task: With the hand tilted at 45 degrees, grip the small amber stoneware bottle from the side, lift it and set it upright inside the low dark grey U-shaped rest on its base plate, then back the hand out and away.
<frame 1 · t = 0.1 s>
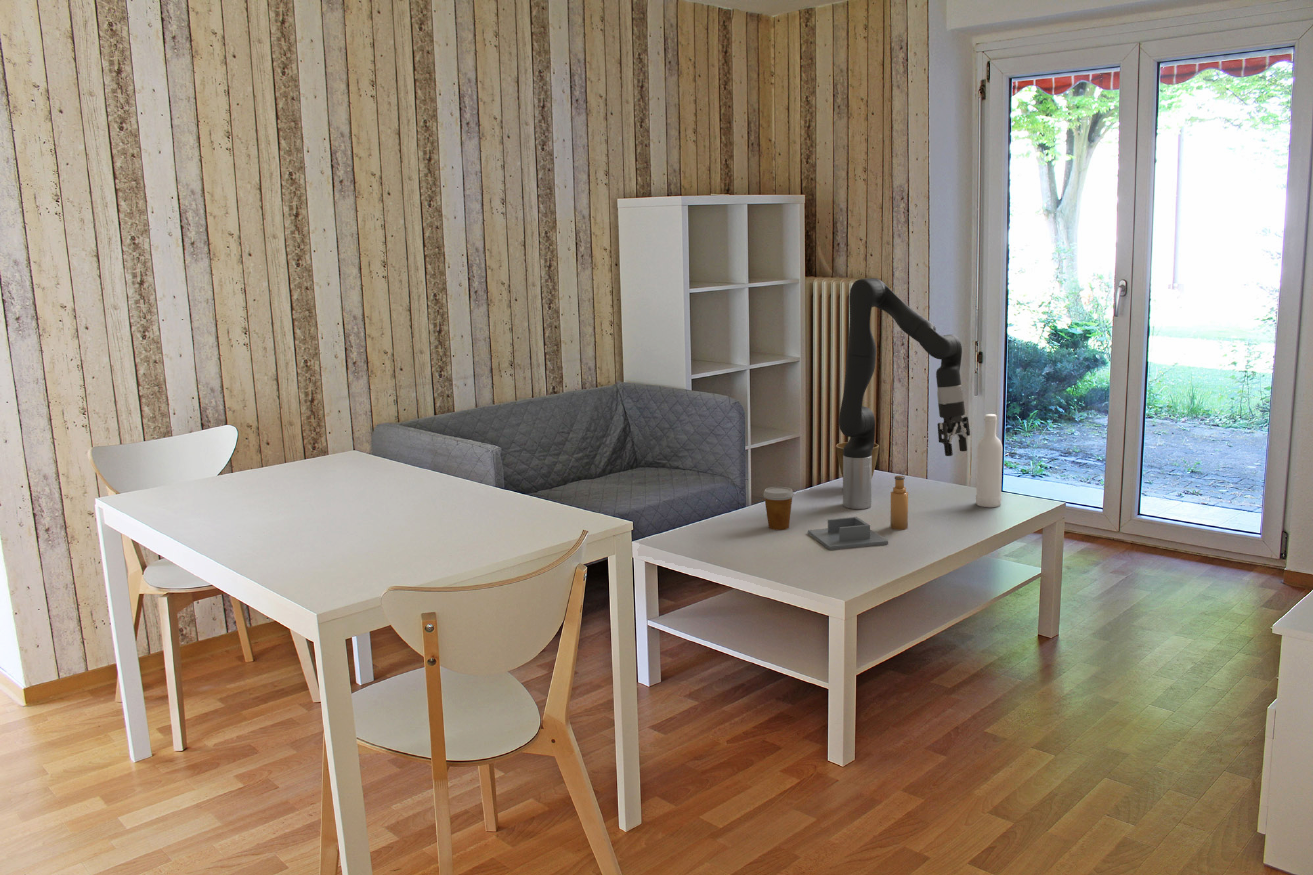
hand: (956, 453, 311), 22 cm above the table, tool pointing down, fingers open, 8 cm apart
bottle: (899, 527, 314), on the table
u rest: (847, 538, 304), on the table
disposable coffee cup: (778, 528, 318), on the table
plant pot: (857, 489, 363), on the table
bottle 2: (988, 505, 337), on the table
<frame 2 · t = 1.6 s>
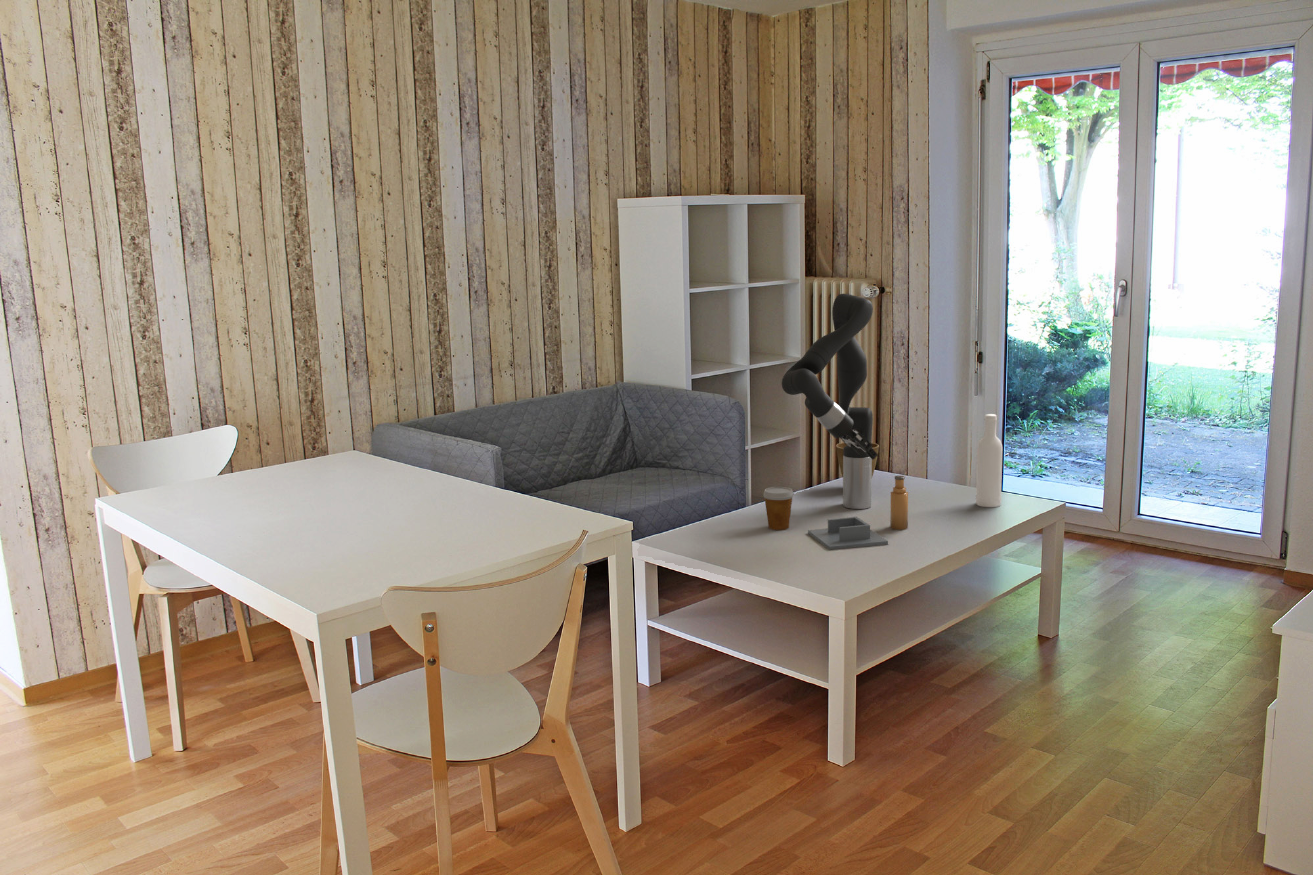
hand: (868, 454, 307), 24 cm above the table, tool tilted 45°, fingers open, 8 cm apart
nothing on the table moved.
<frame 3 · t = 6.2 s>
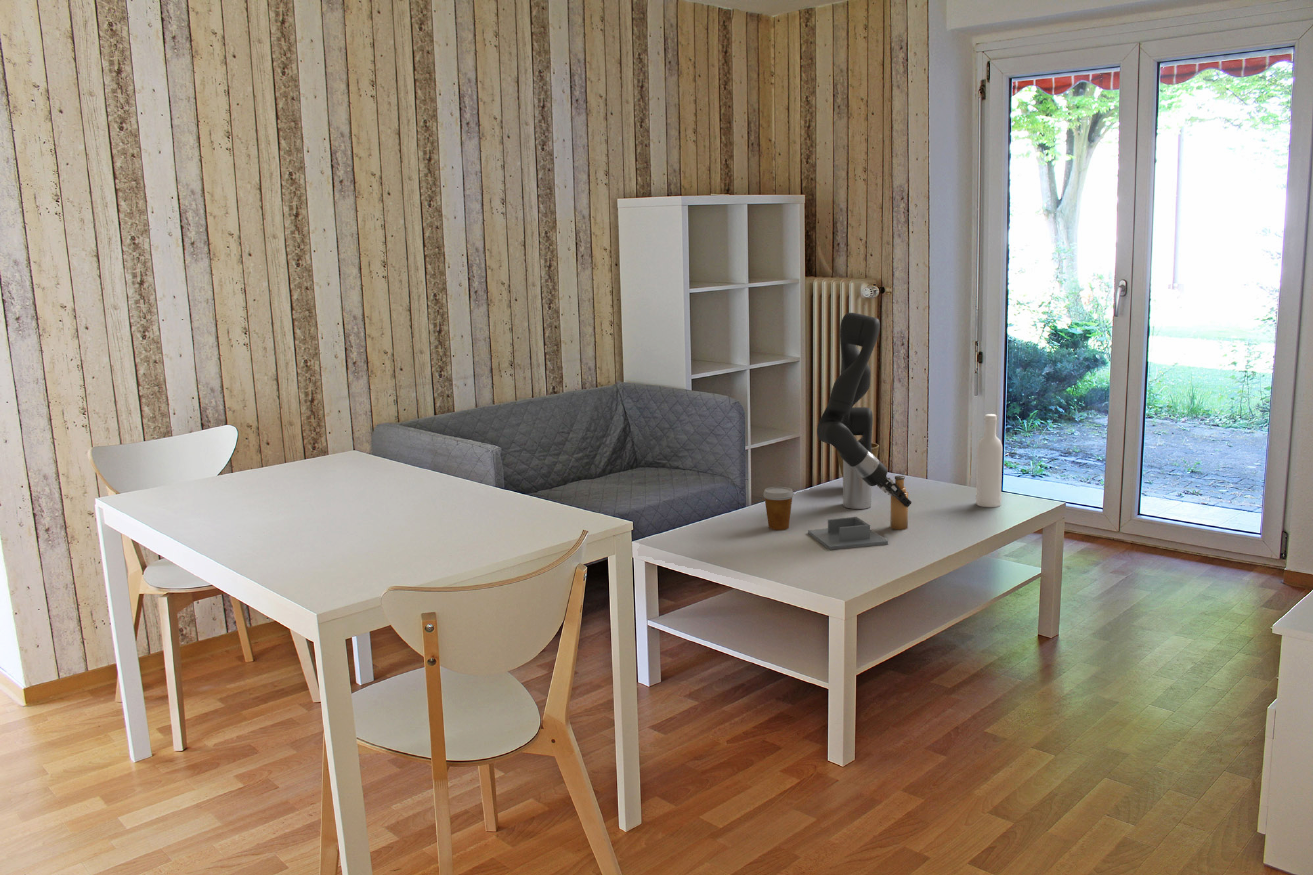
hand: (904, 502, 313), 8 cm above the table, tool tilted 45°, fingers closed on bottle, 5 cm apart
bottle: (899, 527, 314), on the table, touching gripper
everything else where it was.
when the fingers open (10 cm above the table, at t = 11.3 s): bottle drops 1 cm, resting on u rest.
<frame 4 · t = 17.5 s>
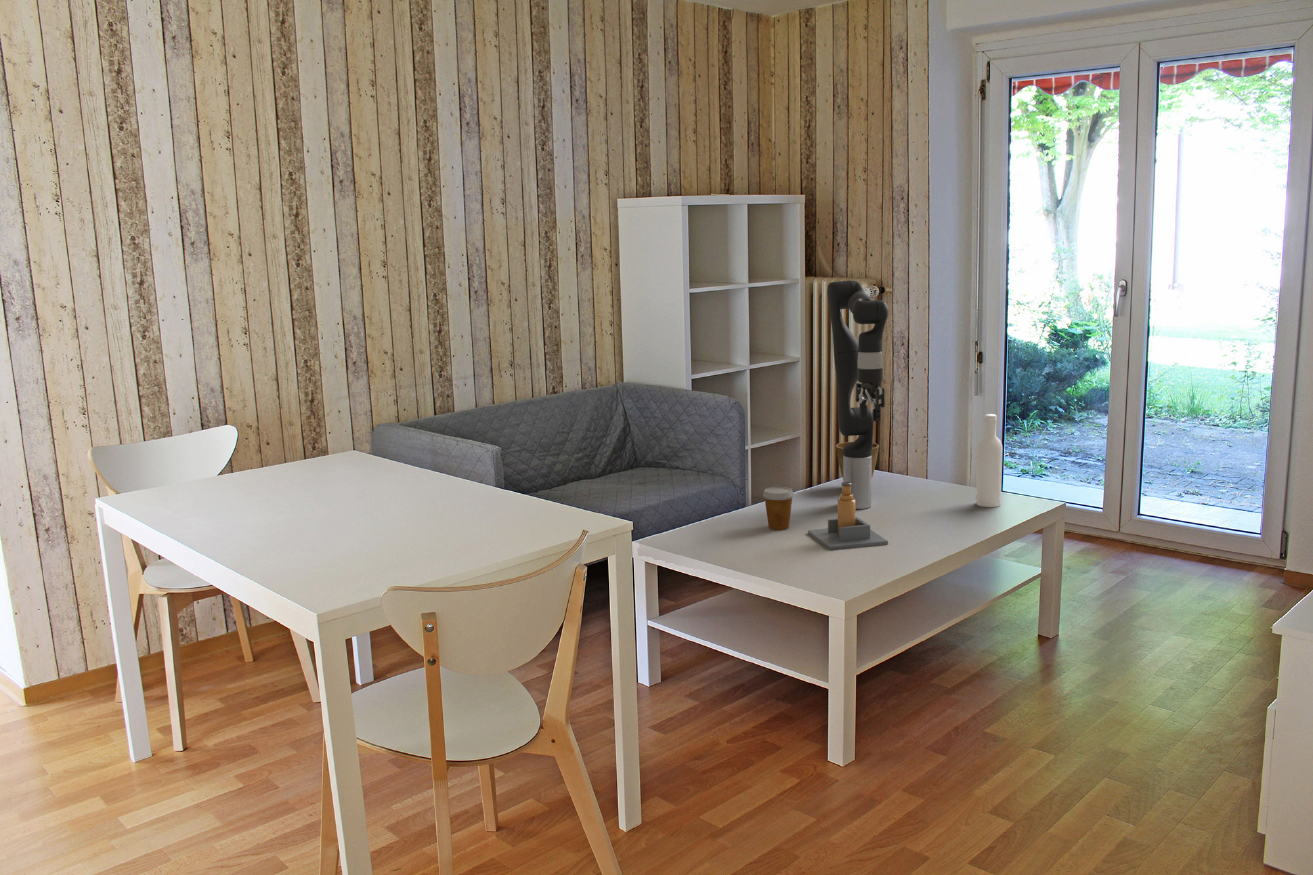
hand: (869, 418, 314), 33 cm above the table, tool pointing down, fingers open, 8 cm apart
bottle: (846, 535, 304), point 1 cm above the table, touching u rest
everything else where it was.
at the end: bottle 0.1 cm off-centre on the u rest, point 1.0 cm above the u rest's base; bottle tilted 0°; the gripper is holding nothing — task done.
